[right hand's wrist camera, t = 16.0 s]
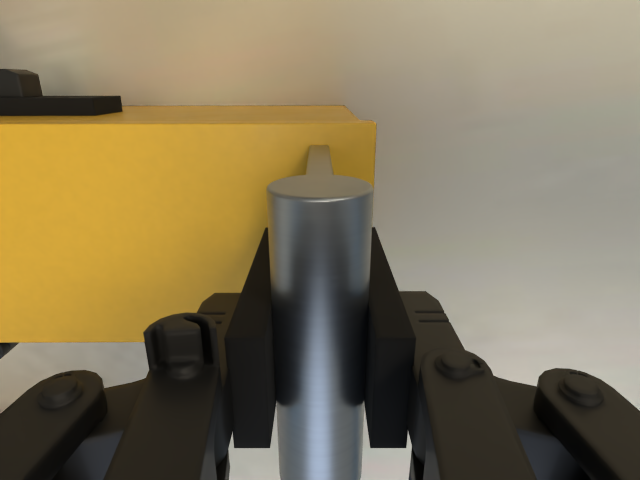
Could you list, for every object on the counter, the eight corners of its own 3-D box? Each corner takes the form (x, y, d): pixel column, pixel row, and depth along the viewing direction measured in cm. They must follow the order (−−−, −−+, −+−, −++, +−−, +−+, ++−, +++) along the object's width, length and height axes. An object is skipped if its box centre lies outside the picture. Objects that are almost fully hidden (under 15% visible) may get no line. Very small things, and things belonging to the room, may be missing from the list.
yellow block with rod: (372, 120, 16) (435, 164, 7) (364, 327, 19) (401, 525, 11) (-58, 121, 16) (-491, 166, 7) (4, 328, 19) (-249, 528, 11)
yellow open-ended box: (344, 105, 26) (360, 120, 16) (342, 243, 29) (354, 327, 19) (85, 106, 26) (-57, 121, 16) (111, 244, 29) (5, 328, 19)
